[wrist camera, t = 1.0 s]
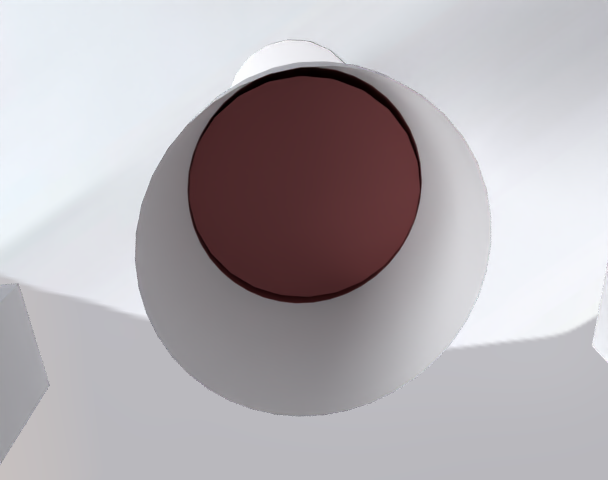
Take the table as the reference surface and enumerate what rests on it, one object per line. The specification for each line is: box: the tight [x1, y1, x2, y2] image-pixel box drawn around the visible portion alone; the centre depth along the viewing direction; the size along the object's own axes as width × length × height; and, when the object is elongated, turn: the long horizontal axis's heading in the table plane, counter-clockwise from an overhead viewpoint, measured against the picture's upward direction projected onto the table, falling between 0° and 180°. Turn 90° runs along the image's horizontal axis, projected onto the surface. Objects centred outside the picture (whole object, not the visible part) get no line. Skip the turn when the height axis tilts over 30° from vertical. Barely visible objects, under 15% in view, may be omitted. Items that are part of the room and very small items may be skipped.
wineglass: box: [135, 40, 491, 416], centre depth 24 cm, size 9×10×23 cm
